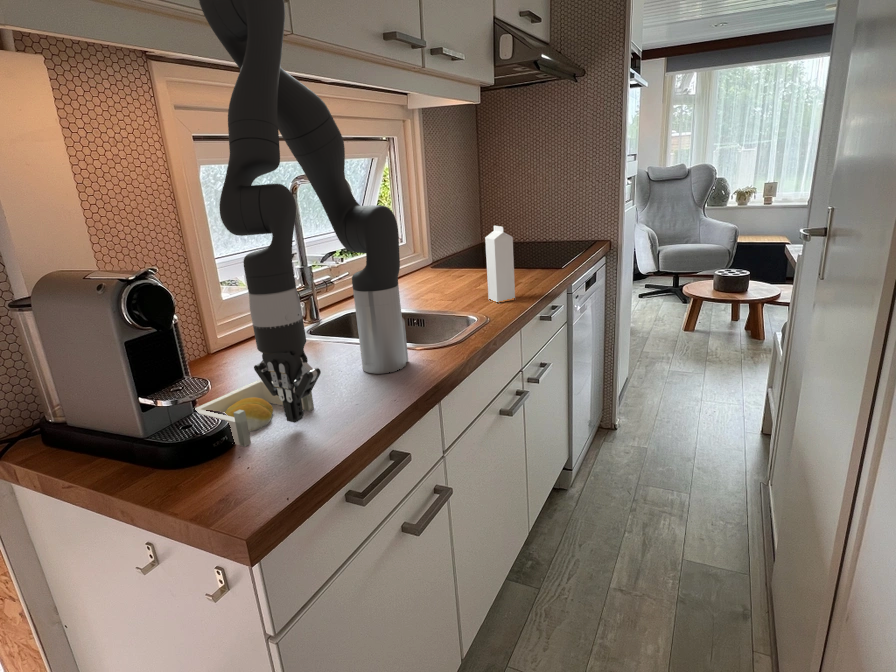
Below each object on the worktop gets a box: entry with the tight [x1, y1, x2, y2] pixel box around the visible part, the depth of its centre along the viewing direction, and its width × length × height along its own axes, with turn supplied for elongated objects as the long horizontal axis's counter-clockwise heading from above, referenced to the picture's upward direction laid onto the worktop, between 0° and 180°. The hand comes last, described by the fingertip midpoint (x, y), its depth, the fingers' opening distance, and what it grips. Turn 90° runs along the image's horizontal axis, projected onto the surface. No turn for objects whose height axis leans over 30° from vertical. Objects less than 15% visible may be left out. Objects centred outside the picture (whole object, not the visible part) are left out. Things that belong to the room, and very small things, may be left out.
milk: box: [484, 225, 516, 302], centre depth 165 cm, size 6×6×22 cm
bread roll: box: [225, 397, 274, 432], centre depth 97 cm, size 8×9×4 cm
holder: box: [194, 378, 315, 447], centre depth 96 cm, size 15×13×6 cm
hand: (295, 420), depth 92 cm, fingers closed
